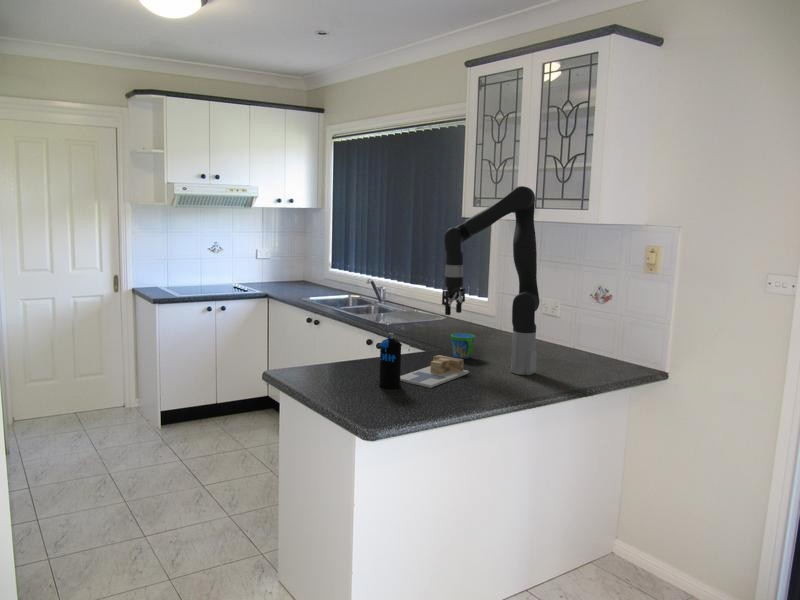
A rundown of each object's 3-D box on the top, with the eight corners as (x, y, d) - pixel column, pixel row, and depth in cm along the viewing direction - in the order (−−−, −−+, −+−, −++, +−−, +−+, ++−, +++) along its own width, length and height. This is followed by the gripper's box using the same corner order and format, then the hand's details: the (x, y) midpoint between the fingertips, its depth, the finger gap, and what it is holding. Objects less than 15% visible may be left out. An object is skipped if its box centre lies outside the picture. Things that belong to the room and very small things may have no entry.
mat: (468, 373, 267) (468, 370, 267) (430, 387, 245) (430, 385, 245) (435, 366, 277) (435, 364, 276) (395, 380, 254) (395, 377, 254)
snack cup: (480, 361, 289) (481, 338, 287) (457, 362, 285) (458, 339, 284) (466, 353, 303) (467, 331, 302) (444, 354, 300) (445, 332, 299)
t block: (438, 365, 274) (438, 354, 274) (463, 370, 268) (463, 359, 267) (422, 371, 265) (422, 360, 264) (447, 376, 258) (448, 365, 257)
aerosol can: (388, 381, 252) (389, 330, 249) (405, 385, 246) (406, 333, 244) (374, 385, 245) (375, 333, 242) (391, 390, 240) (392, 336, 237)
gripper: (452, 277, 268) (451, 316, 270) (470, 274, 280) (469, 312, 282) (437, 276, 273) (436, 315, 275) (455, 273, 284) (454, 311, 286)
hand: (453, 313), depth 278 cm, fingers open, 8 cm apart
